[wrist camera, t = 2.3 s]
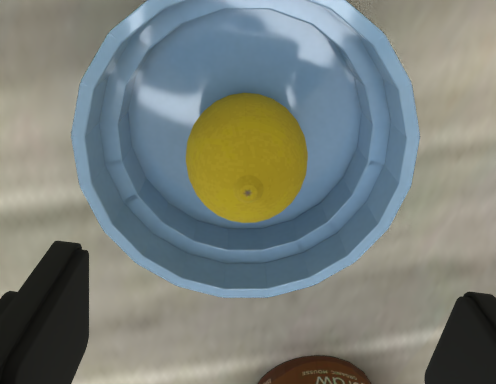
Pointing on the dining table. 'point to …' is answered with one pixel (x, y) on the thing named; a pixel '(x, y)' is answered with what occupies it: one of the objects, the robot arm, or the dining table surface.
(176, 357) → the dining table surface
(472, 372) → the robot arm
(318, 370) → the food container
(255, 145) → the lemon
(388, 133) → the bowl
